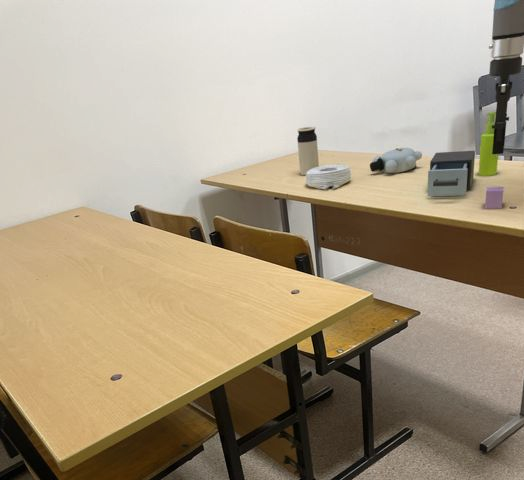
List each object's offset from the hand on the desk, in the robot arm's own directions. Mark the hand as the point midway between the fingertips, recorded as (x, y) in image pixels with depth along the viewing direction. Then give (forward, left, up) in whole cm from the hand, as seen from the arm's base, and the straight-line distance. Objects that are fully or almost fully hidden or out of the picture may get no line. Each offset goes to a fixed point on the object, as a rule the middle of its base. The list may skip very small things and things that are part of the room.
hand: (498, 150), depth 145 cm
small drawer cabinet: (+14, -26, -16) cm, 33 cm away
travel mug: (+74, -55, -16) cm, 94 cm away
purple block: (0, 0, -16) cm, 16 cm away
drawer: (+14, -14, -15) cm, 24 cm away
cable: (+60, -35, -16) cm, 71 cm away
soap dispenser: (+3, -41, -16) cm, 44 cm away
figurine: (+38, -53, -16) cm, 67 cm away
